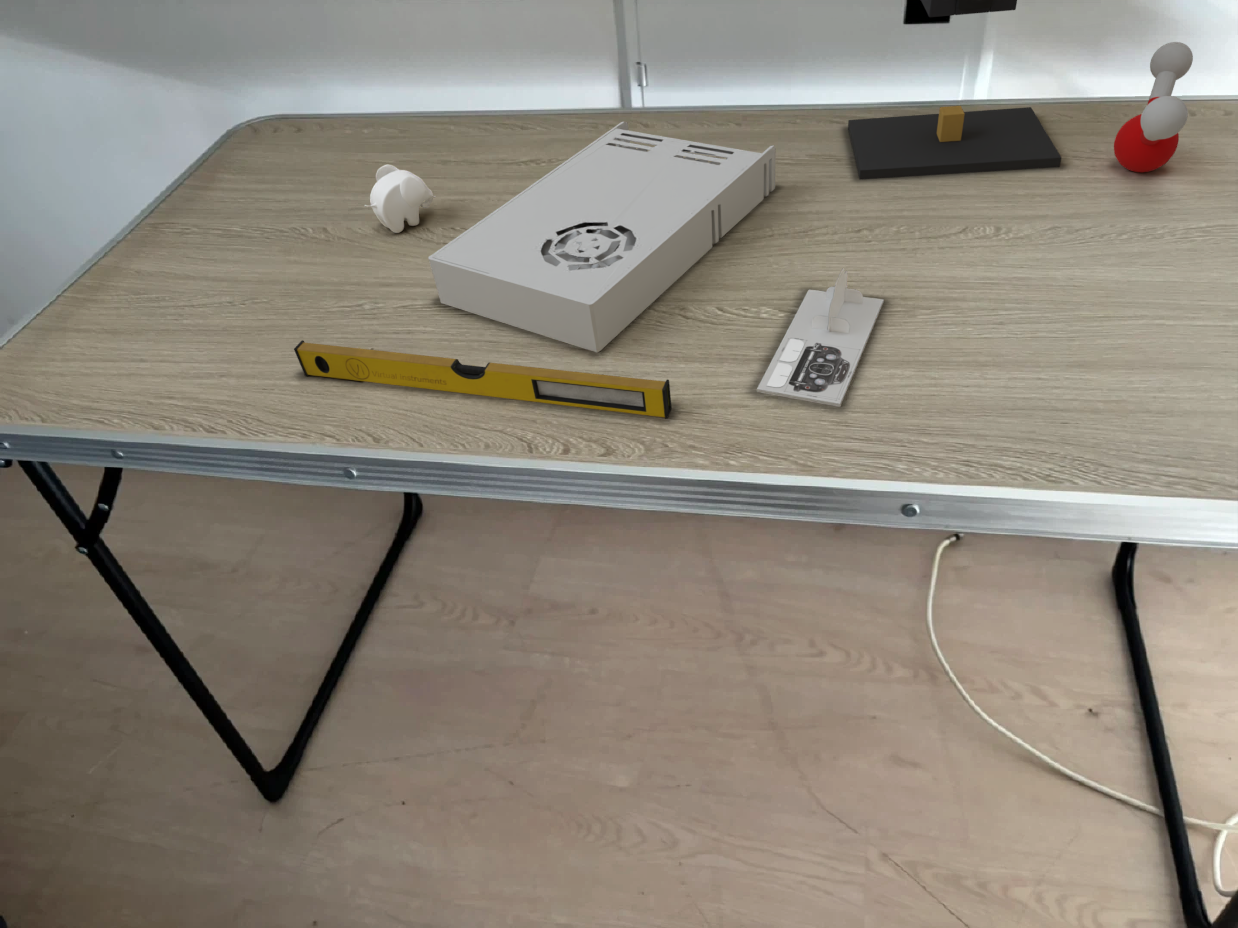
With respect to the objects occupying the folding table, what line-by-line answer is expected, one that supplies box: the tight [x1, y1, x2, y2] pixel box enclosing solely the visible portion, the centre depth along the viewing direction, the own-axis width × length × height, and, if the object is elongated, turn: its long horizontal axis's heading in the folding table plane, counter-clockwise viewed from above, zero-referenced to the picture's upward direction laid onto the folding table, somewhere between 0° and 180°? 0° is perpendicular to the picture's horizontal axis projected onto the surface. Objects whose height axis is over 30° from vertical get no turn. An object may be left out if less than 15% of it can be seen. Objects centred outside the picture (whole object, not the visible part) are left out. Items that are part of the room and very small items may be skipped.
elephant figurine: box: [364, 163, 437, 234], centre depth 100 cm, size 7×8×6 cm
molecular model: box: [1113, 41, 1194, 173], centre depth 90 cm, size 18×6×10 cm, turn 154°
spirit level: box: [293, 340, 673, 420], centre depth 76 cm, size 33×1×3 cm, turn 72°
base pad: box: [847, 105, 1062, 181], centre depth 100 cm, size 20×13×4 cm, turn 85°
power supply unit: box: [427, 121, 777, 353], centre depth 92 cm, size 19×33×5 cm, turn 146°
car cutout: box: [756, 267, 885, 408], centre depth 75 cm, size 15×7×4 cm, turn 156°
